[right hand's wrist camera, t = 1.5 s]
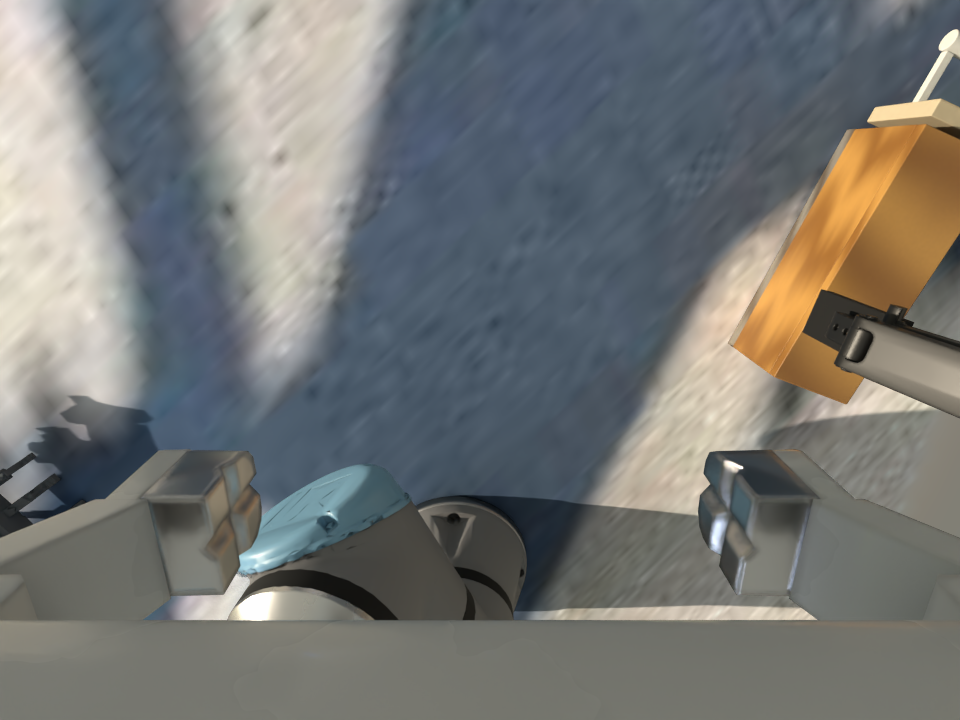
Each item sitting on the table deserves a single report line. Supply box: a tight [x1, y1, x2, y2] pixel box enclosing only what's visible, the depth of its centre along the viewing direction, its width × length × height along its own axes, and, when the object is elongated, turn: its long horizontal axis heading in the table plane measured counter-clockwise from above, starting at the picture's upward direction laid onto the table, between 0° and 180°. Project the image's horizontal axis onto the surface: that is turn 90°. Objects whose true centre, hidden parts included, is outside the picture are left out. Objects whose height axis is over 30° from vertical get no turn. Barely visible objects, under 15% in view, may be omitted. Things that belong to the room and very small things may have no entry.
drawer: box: [867, 30, 960, 139], centre depth 44 cm, size 24×6×7 cm, turn 159°
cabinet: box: [728, 124, 960, 404], centre depth 46 cm, size 20×7×9 cm, turn 159°
